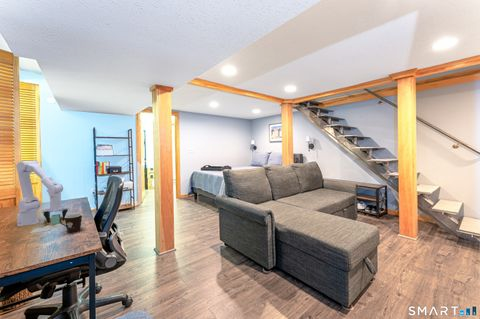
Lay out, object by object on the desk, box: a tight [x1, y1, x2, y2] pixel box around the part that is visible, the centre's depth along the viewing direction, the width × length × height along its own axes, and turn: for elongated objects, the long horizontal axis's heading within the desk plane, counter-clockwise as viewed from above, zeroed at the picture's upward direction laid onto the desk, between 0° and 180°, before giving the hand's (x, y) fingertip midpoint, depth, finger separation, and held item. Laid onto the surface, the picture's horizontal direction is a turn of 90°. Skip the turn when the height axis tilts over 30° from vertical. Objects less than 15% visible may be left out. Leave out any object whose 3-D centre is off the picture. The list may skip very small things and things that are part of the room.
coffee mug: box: [60, 213, 83, 234], centre depth 130 cm, size 12×9×10 cm
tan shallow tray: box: [41, 216, 66, 228], centre depth 142 cm, size 13×11×4 cm
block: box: [50, 213, 62, 225], centre depth 142 cm, size 4×4×6 cm
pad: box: [29, 226, 54, 234], centre depth 131 cm, size 9×9×1 cm
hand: (56, 221), depth 142 cm, fingers open, 7 cm apart
